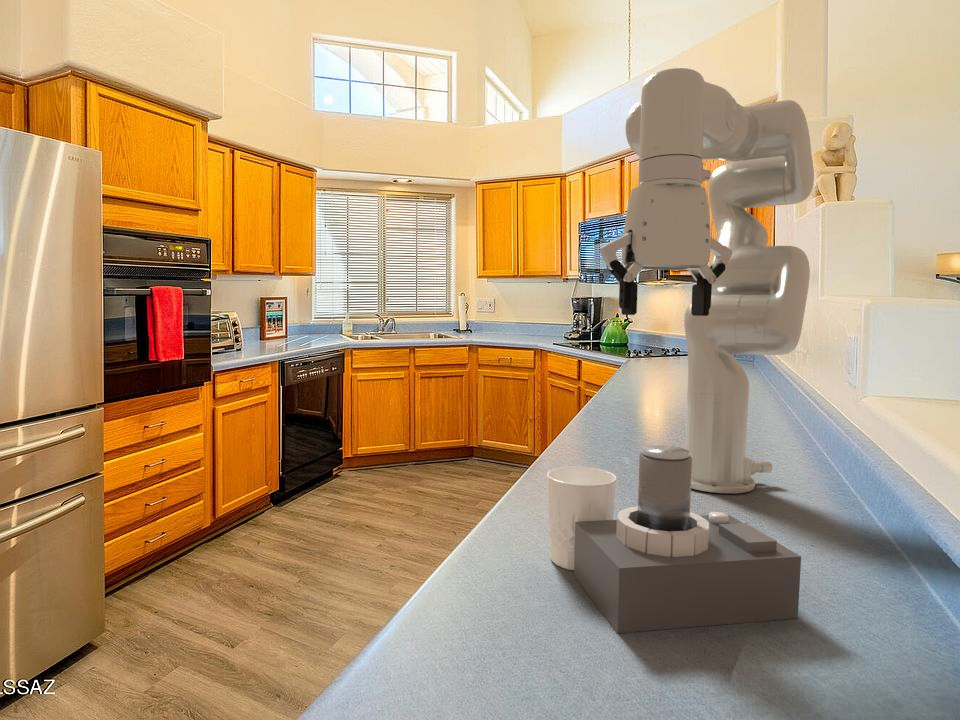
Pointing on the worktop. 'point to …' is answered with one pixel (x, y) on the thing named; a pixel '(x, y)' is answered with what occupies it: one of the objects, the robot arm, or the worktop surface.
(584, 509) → the white cup
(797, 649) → the worktop surface
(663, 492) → the shiny metal cylinder
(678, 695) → the worktop surface
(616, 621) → the camera body
